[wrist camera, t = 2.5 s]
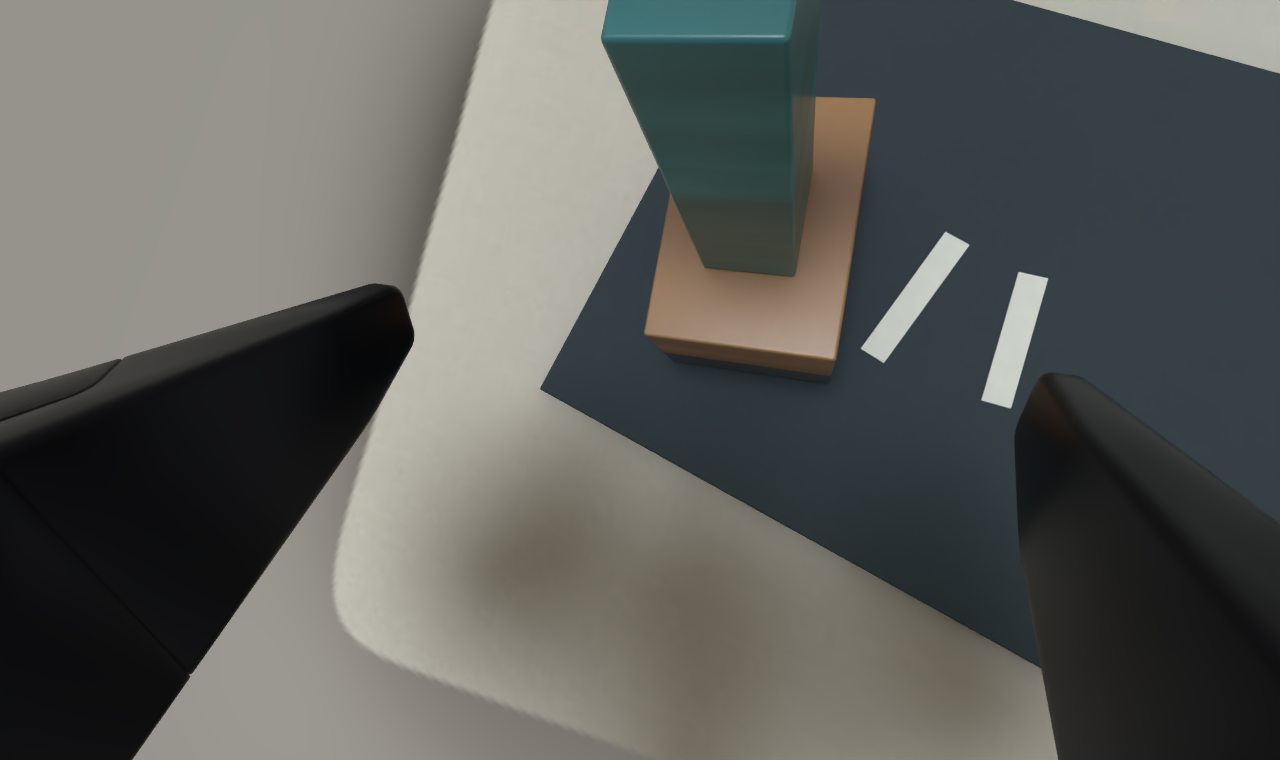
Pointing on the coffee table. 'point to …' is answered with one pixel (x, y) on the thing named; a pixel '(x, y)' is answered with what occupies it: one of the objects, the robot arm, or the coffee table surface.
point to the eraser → (744, 180)
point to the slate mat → (986, 293)
